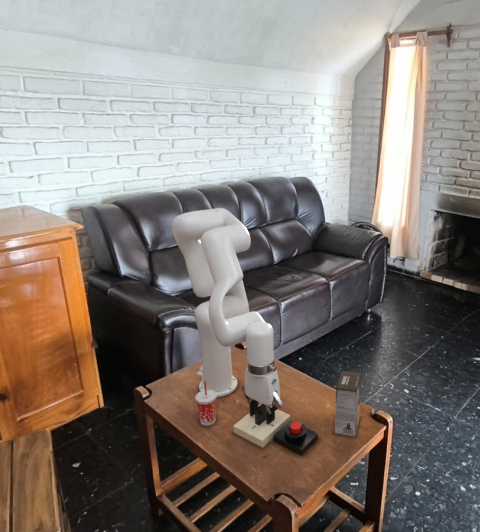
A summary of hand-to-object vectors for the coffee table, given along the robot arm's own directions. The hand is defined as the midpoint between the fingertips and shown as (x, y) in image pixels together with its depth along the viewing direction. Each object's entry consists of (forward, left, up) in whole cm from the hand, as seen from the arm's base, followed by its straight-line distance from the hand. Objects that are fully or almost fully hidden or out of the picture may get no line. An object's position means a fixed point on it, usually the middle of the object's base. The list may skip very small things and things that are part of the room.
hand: (262, 417), depth 130 cm
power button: (+11, +1, 0) cm, 12 cm away
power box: (+11, +1, -4) cm, 12 cm away
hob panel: (0, 0, -4) cm, 4 cm away
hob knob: (0, 0, -1) cm, 1 cm away
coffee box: (+20, +15, -4) cm, 26 cm away
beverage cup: (-16, -7, -4) cm, 17 cm away
